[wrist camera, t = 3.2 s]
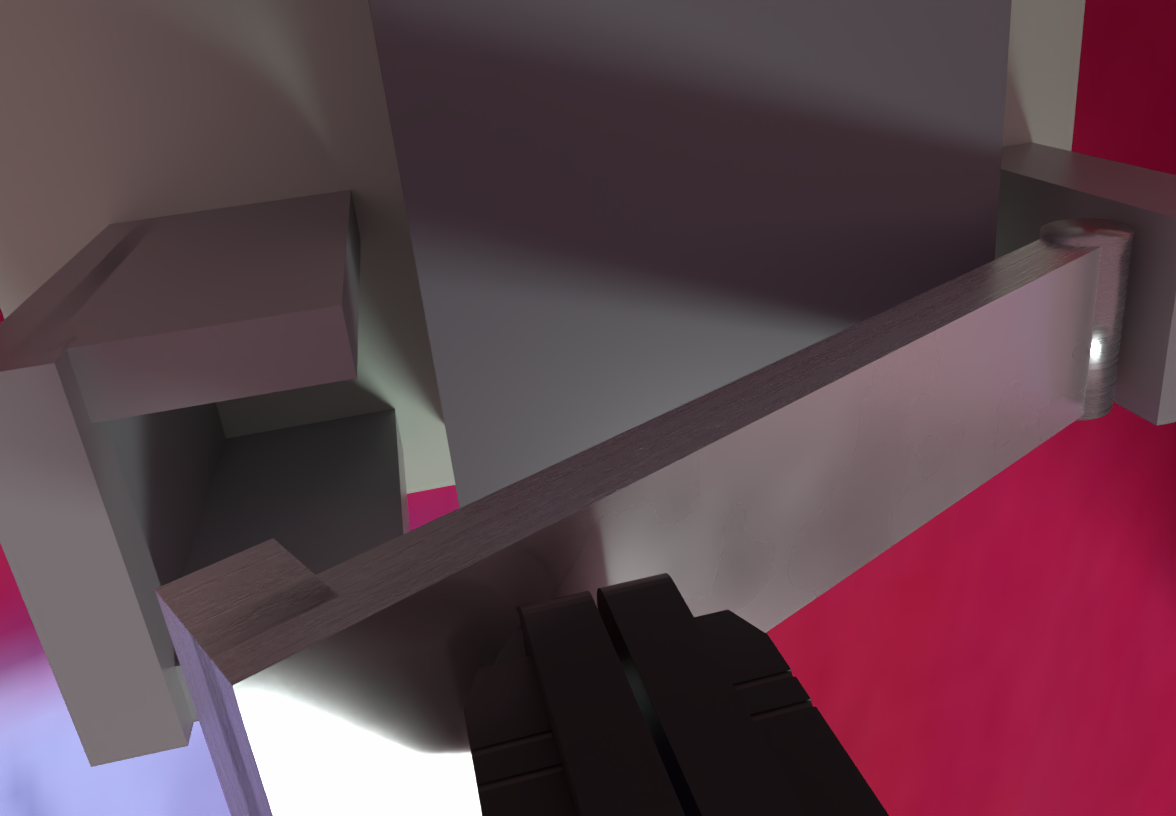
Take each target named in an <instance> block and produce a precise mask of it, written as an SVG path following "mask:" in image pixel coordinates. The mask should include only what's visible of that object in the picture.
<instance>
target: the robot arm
mask: <svg viewBox="0 0 1176 816" xmlns="http://www.w3.org/2000/svg"><path fill="white" fill-rule="evenodd" d="M519 615H520V621H521V627H522V633H523V639H524V645H525V651H526V657H525V658H521V659H517V660H512V661H508V662H504V663H500V664H495V665H491V666H487V667H483V668H478V671H477V673H476V676H475V678H474V681H473V684H472V686H471V689H470V692H469V694H468V697H467V700H466V702H465V705H464V708H463V710H464V716H465V722H466V727H467V733H468V739H469V744H470V750H471V755H472V761H473V767H474V772H475V778H476V784H477V789H478V795H479V801H480V806H481V812H482V816H889V815H888V814H887V812H886V811H885V809H884V808H883V806H882V805H881V803H880V802H879V800H878V799H877V797H876V796H875V794H874V793H873V791H872V790H871V788H870V787H869V785H868V784H867V782H866V781H865V779H864V778H863V776H862V775H861V773H860V772H859V770H858V769H857V767H856V766H855V764H854V763H853V761H852V760H851V758H850V757H849V755H848V754H847V752H846V751H845V749H844V748H843V746H842V745H841V743H840V742H839V740H838V739H837V737H836V736H835V734H834V733H833V731H832V730H831V728H830V727H829V725H828V724H827V723H826V721H825V720H824V718H823V717H822V715H821V714H820V712H819V711H818V709H817V708H816V707H813V706H812V703H811V699H810V697H809V696H808V694H807V693H806V691H805V690H804V688H803V687H802V685H801V684H800V682H799V681H798V679H797V678H796V677H793V676H792V673H791V669H790V667H789V666H788V664H787V663H786V661H785V660H784V658H783V657H782V655H781V654H780V652H779V651H778V649H777V648H776V646H775V645H774V643H773V642H772V640H771V639H770V637H769V636H768V634H766V633H764V632H763V631H761V630H760V629H758V628H757V627H755V626H753V625H752V624H750V623H749V622H747V621H746V620H744V619H743V618H741V617H739V616H738V615H736V614H735V613H733V612H732V611H730V610H729V609H727V610H723V611H719V612H715V613H710V614H706V615H702V616H698V617H694V616H693V614H692V613H691V611H690V609H689V607H688V606H687V604H686V602H685V600H684V599H683V597H682V595H681V593H680V592H679V590H678V588H677V586H676V585H675V583H674V581H673V580H672V578H671V576H670V575H669V574H667V573H663V574H659V575H654V576H650V577H645V578H641V579H637V580H632V581H628V582H623V583H619V584H614V585H610V586H606V587H601V588H598V589H597V606H596V604H595V601H594V599H593V597H592V595H591V593H590V592H589V591H585V592H580V593H576V594H572V595H567V596H563V597H558V598H554V599H549V600H545V601H541V602H536V603H532V604H527V605H523V606H519Z"/></svg>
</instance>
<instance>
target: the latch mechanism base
mask: <svg viewBox="0 0 1176 816" xmlns="http://www.w3.org/2000/svg"><path fill="white" fill-rule="evenodd" d="M1084 11H1085V0H0V308H1V311H2V314H3V317H4V320H3V321H2V322H1V323H0V543H1V546H2V548H3V550H4V553H5V555H6V558H7V560H8V563H9V565H10V568H11V570H12V573H13V575H14V578H15V580H16V583H17V585H18V587H19V590H20V592H21V595H22V597H23V600H24V602H25V605H26V607H27V610H28V612H29V615H30V617H31V620H32V622H33V625H34V627H35V629H36V632H37V634H38V637H39V639H40V642H41V644H42V647H43V649H44V652H45V654H46V657H47V659H48V662H49V664H50V667H51V669H52V671H53V674H54V676H55V679H56V681H57V684H58V686H59V689H60V691H61V694H62V696H63V699H64V701H65V704H66V706H67V709H68V711H69V713H70V716H71V718H72V721H73V723H74V726H75V728H76V731H77V733H78V736H79V738H80V741H81V743H82V746H83V748H84V751H85V753H86V755H87V758H88V760H89V763H90V765H91V767H92V766H97V765H102V764H106V763H111V762H115V761H120V760H125V759H129V758H134V757H138V756H143V755H148V754H152V753H157V752H161V751H166V750H171V749H175V748H180V747H184V746H188V743H189V739H190V735H191V731H192V727H193V722H196V721H199V719H198V716H197V713H196V711H195V708H194V705H193V702H192V699H191V696H190V693H189V690H188V687H187V684H186V681H185V678H184V675H183V672H182V669H181V666H180V663H179V660H178V657H177V654H176V651H175V648H174V645H173V643H172V640H171V637H170V634H169V631H168V628H167V625H166V622H165V619H164V616H163V613H162V610H161V607H160V604H159V601H158V598H157V595H156V592H155V589H156V588H158V587H161V586H163V585H165V584H168V583H170V582H172V581H175V580H177V579H179V578H182V577H184V576H186V575H189V574H191V573H193V572H195V571H198V570H200V569H202V568H205V567H207V566H209V565H212V564H214V563H216V562H219V561H221V560H223V559H226V558H228V557H230V556H233V555H235V554H237V553H240V552H242V551H244V550H247V549H249V548H251V547H254V546H256V545H258V544H261V543H263V542H265V541H267V540H270V539H272V538H274V539H275V540H276V541H277V542H278V543H279V544H280V545H282V546H283V547H284V548H285V549H286V550H287V551H288V552H290V553H291V554H292V555H293V556H294V557H295V558H296V559H298V560H299V561H300V562H301V563H302V564H303V565H304V566H306V567H307V568H308V569H309V570H310V571H311V572H312V573H314V574H315V575H317V574H319V573H321V572H323V571H326V570H328V569H330V568H332V567H334V566H336V565H339V564H341V563H343V562H345V561H347V560H349V559H351V558H354V557H356V556H358V555H360V554H362V553H364V552H367V551H369V550H371V549H373V548H375V547H377V546H379V545H382V544H384V543H386V542H388V541H390V540H392V539H395V538H397V537H399V536H401V535H403V534H405V533H407V532H410V529H409V516H408V503H407V493H413V492H418V491H423V490H429V489H434V488H439V487H445V486H450V485H455V484H456V490H457V496H458V501H459V507H460V508H461V507H464V506H466V505H468V504H470V503H472V502H474V501H476V500H479V499H481V498H483V497H485V496H487V495H489V494H492V493H494V492H496V491H498V490H500V489H502V488H504V487H507V486H509V485H511V484H513V483H515V482H517V481H520V480H522V479H524V478H526V477H528V476H530V475H532V474H535V473H537V472H539V471H541V470H543V469H545V468H548V467H550V466H552V465H554V464H556V463H558V462H560V461H563V460H565V459H567V458H569V457H571V456H573V455H576V454H578V453H580V452H582V451H584V450H586V449H588V448H591V447H593V446H595V445H597V444H599V443H601V442H604V441H606V440H608V439H610V438H612V437H614V436H616V435H619V434H621V433H623V432H625V431H627V430H629V429H632V428H634V427H636V426H638V425H640V424H642V423H644V422H647V421H649V420H651V419H653V418H655V417H657V416H660V415H662V414H664V413H666V412H668V411H670V410H673V409H675V408H677V407H679V406H681V405H683V404H685V403H688V402H690V401H692V400H694V399H696V398H698V397H701V396H703V395H705V394H707V393H709V392H711V391H713V390H716V389H718V388H720V387H722V386H724V385H726V384H729V383H731V382H733V381H735V380H737V379H739V378H741V377H744V376H746V375H748V374H750V373H752V372H754V371H757V370H759V369H761V368H763V367H765V366H767V365H769V364H772V363H774V362H776V361H778V360H780V359H782V358H785V357H787V356H789V355H791V354H793V353H795V352H797V351H800V350H802V349H804V348H806V347H808V346H810V345H813V344H815V343H817V342H819V341H821V340H823V339H825V338H828V337H830V336H832V335H834V334H836V333H838V332H841V331H843V330H845V329H847V328H849V327H851V326H853V325H856V324H858V323H860V322H862V321H864V320H866V319H869V318H871V317H873V316H875V315H877V314H879V313H882V312H884V311H886V310H888V309H890V308H892V307H894V306H897V305H899V304H901V303H903V302H905V301H907V300H910V299H912V298H914V297H916V296H918V295H920V294H922V293H925V292H927V291H929V290H931V289H933V288H935V287H938V286H940V285H942V284H944V283H946V282H948V281H950V280H953V279H955V278H957V277H959V276H961V275H963V274H966V273H968V272H970V271H972V270H974V269H976V268H978V267H981V266H983V265H985V264H987V263H989V262H991V261H994V260H996V259H998V258H1000V257H1002V256H1004V255H1006V254H1009V253H1011V252H1013V251H1015V250H1017V249H1019V248H1022V247H1024V246H1026V245H1028V244H1030V243H1032V242H1034V241H1037V240H1039V239H1040V229H1041V227H1042V226H1043V225H1045V224H1047V223H1050V222H1054V221H1059V220H1066V219H1081V218H1091V219H1106V220H1113V221H1119V222H1123V223H1126V224H1128V225H1130V226H1132V227H1133V228H1134V234H1133V242H1132V251H1131V259H1130V267H1129V275H1128V283H1127V291H1126V300H1125V308H1124V316H1123V324H1122V332H1121V341H1120V349H1119V357H1118V365H1117V373H1116V381H1115V390H1114V398H1113V402H1114V403H1116V404H1118V405H1120V406H1122V407H1124V408H1125V409H1127V410H1129V411H1131V412H1133V413H1134V414H1136V415H1138V416H1140V417H1142V418H1143V419H1145V420H1147V421H1149V422H1151V423H1153V424H1154V425H1156V426H1158V425H1163V424H1168V423H1173V422H1176V175H1173V174H1169V173H1164V172H1160V171H1156V170H1151V169H1147V168H1143V167H1138V166H1134V165H1129V164H1125V163H1121V162H1116V161H1112V160H1108V159H1103V158H1099V157H1094V156H1090V155H1086V154H1081V153H1077V152H1073V151H1072V140H1073V129H1074V118H1075V108H1076V97H1077V86H1078V76H1079V65H1080V54H1081V43H1082V33H1083V22H1084Z"/></svg>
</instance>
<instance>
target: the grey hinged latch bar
mask: <svg viewBox="0 0 1176 816" xmlns="http://www.w3.org/2000/svg"><path fill="white" fill-rule="evenodd" d="M1133 234H1134V228H1133V227H1132V226H1130V225H1128V224H1126V223H1123V222H1119V221H1113V220H1106V219H1091V218H1081V219H1066V220H1059V221H1054V222H1050V223H1047V224H1045V225H1043V226H1042V227H1041V229H1040V239H1039V240H1037V241H1034V242H1032V243H1030V244H1028V245H1026V246H1024V247H1022V248H1019V249H1017V250H1015V251H1013V252H1011V253H1009V254H1006V255H1004V256H1002V257H1000V258H998V259H996V260H994V261H991V262H989V263H987V264H985V265H983V266H981V267H978V268H976V269H974V270H972V271H970V272H968V273H966V274H963V275H961V276H959V277H957V278H955V279H953V280H950V281H948V282H946V283H944V284H942V285H940V286H938V287H935V288H933V289H931V290H929V291H927V292H925V293H922V294H920V295H918V296H916V297H914V298H912V299H910V300H907V301H905V302H903V303H901V304H899V305H897V306H894V307H892V308H890V309H888V310H886V311H884V312H882V313H879V314H877V315H875V316H873V317H871V318H869V319H866V320H864V321H862V322H860V323H858V324H856V325H853V326H851V327H849V328H847V329H845V330H843V331H841V332H838V333H836V334H834V335H832V336H830V337H828V338H825V339H823V340H821V341H819V342H817V343H815V344H813V345H810V346H808V347H806V348H804V349H802V350H800V351H797V352H795V353H793V354H791V355H789V356H787V357H785V358H782V359H780V360H778V361H776V362H774V363H772V364H769V365H767V366H765V367H763V368H761V369H759V370H757V371H754V372H752V373H750V374H748V375H746V376H744V377H741V378H739V379H737V380H735V381H733V382H731V383H729V384H726V385H724V386H722V387H720V388H718V389H716V390H713V391H711V392H709V393H707V394H705V395H703V396H701V397H698V398H696V399H694V400H692V401H690V402H688V403H685V404H683V405H681V406H679V407H677V408H675V409H673V410H670V411H668V412H666V413H664V414H662V415H660V416H657V417H655V418H653V419H651V420H649V421H647V422H644V423H642V424H640V425H638V426H636V427H634V428H632V429H629V430H627V431H625V432H623V433H621V434H619V435H616V436H614V437H612V438H610V439H608V440H606V441H604V442H601V443H599V444H597V445H595V446H593V447H591V448H588V449H586V450H584V451H582V452H580V453H578V454H576V455H573V456H571V457H569V458H567V459H565V460H563V461H560V462H558V463H556V464H554V465H552V466H550V467H548V468H545V469H543V470H541V471H539V472H537V473H535V474H532V475H530V476H528V477H526V478H524V479H522V480H520V481H517V482H515V483H513V484H511V485H509V486H507V487H504V488H502V489H500V490H498V491H496V492H494V493H492V494H489V495H487V496H485V497H483V498H481V499H479V500H476V501H474V502H472V503H470V504H468V505H466V506H464V507H461V508H459V509H457V510H455V511H453V512H451V513H448V514H446V515H444V516H442V517H440V518H438V519H435V520H433V521H431V522H429V523H427V524H425V525H423V526H420V527H418V528H416V529H414V530H412V531H410V532H407V533H405V534H403V535H401V536H399V537H397V538H395V539H392V540H390V541H388V542H386V543H384V544H382V545H379V546H377V547H375V548H373V549H371V550H369V551H367V552H364V553H362V554H360V555H358V556H356V557H354V558H351V559H349V560H347V561H345V562H343V563H341V564H339V565H336V566H334V567H332V568H330V569H328V570H326V571H323V572H321V573H319V574H317V575H315V574H314V573H312V572H311V571H310V570H309V569H308V568H307V567H306V566H304V565H303V564H302V563H301V562H300V561H299V560H298V559H296V558H295V557H294V556H293V555H292V554H291V553H290V552H288V551H287V550H286V549H285V548H284V547H283V546H282V545H280V544H279V543H278V542H277V541H276V540H275V539H274V538H272V539H270V540H267V541H265V542H263V543H261V544H258V545H256V546H254V547H251V548H249V549H247V550H244V551H242V552H240V553H237V554H235V555H233V556H230V557H228V558H226V559H223V560H221V561H219V562H216V563H214V564H212V565H209V566H207V567H205V568H202V569H200V570H198V571H195V572H193V573H191V574H189V575H186V576H184V577H182V578H179V579H177V580H175V581H172V582H170V583H168V584H165V585H163V586H161V587H158V588H156V589H155V592H156V595H157V598H158V601H159V604H160V607H161V610H162V613H163V616H164V619H165V622H166V625H167V628H168V631H169V634H170V637H171V640H172V643H173V645H174V648H175V651H176V654H177V657H178V660H179V663H180V666H181V669H182V672H183V675H184V678H185V681H186V684H187V687H188V690H189V693H190V696H191V699H192V702H193V705H194V708H195V711H196V713H197V716H198V719H199V722H200V725H201V728H202V731H203V734H204V737H205V740H206V743H207V746H208V749H209V752H210V755H211V758H212V761H213V764H214V767H215V770H216V773H217V776H218V779H219V781H220V784H221V787H222V790H223V793H224V796H225V799H226V802H227V805H228V808H229V811H230V814H231V816H482V812H481V806H480V801H479V795H478V789H477V784H476V778H475V772H474V767H473V761H472V755H471V750H470V744H469V739H468V733H467V727H466V722H465V716H464V710H463V708H464V705H465V702H466V700H467V697H468V694H469V692H470V689H471V686H472V684H473V681H474V678H475V676H476V673H477V671H478V668H483V667H487V666H491V665H495V664H500V663H504V662H508V661H512V660H517V659H521V658H525V657H526V651H525V645H524V639H523V633H522V627H521V621H520V615H519V606H523V605H527V604H532V603H536V602H541V601H545V600H549V599H554V598H558V597H563V596H567V595H572V594H576V593H580V592H585V591H589V592H590V593H591V595H592V597H593V599H594V601H595V604H596V606H597V589H598V588H601V587H606V586H610V585H614V584H619V583H623V582H628V581H632V580H637V579H641V578H645V577H650V576H654V575H659V574H663V573H667V574H669V575H670V576H671V578H672V580H673V581H674V583H675V585H676V586H677V588H678V590H679V592H680V593H681V595H682V597H683V599H684V600H685V602H686V604H687V606H688V607H689V609H690V611H691V613H692V614H693V616H694V617H698V616H702V615H706V614H710V613H715V612H719V611H723V610H727V609H729V610H730V611H732V612H733V613H735V614H736V615H738V616H739V617H741V618H743V619H744V620H746V621H747V622H749V623H750V624H752V625H753V626H755V627H757V628H758V629H760V630H761V631H763V632H764V633H766V632H767V631H769V630H770V629H772V628H773V627H775V626H776V625H777V624H779V623H780V622H782V621H783V620H785V619H786V618H788V617H789V616H791V615H792V614H794V613H795V612H796V611H798V610H799V609H801V608H802V607H804V606H805V605H807V604H808V603H810V602H811V601H813V600H814V599H815V598H817V597H818V596H820V595H821V594H823V593H824V592H826V591H827V590H829V589H830V588H832V587H833V586H834V585H836V584H837V583H839V582H840V581H842V580H843V579H845V578H846V577H848V576H849V575H850V574H852V573H853V572H855V571H856V570H858V569H859V568H861V567H862V566H864V565H865V564H867V563H868V562H869V561H871V560H872V559H874V558H875V557H877V556H878V555H880V554H881V553H883V552H884V551H886V550H887V549H888V548H890V547H891V546H893V545H894V544H896V543H897V542H899V541H900V540H902V539H903V538H905V537H906V536H907V535H909V534H910V533H912V532H913V531H915V530H916V529H918V528H919V527H921V526H922V525H923V524H925V523H926V522H928V521H929V520H931V519H932V518H934V517H935V516H937V515H938V514H940V513H941V512H942V511H944V510H945V509H947V508H948V507H950V506H951V505H953V504H954V503H956V502H957V501H959V500H960V499H961V498H963V497H964V496H966V495H967V494H969V493H970V492H972V491H973V490H975V489H976V488H978V487H979V486H980V485H982V484H983V483H985V482H986V481H988V480H989V479H991V478H992V477H994V476H995V475H996V474H998V473H999V472H1001V471H1002V470H1004V469H1005V468H1007V467H1008V466H1010V465H1011V464H1013V463H1014V462H1015V461H1017V460H1018V459H1020V458H1021V457H1023V456H1024V455H1026V454H1027V453H1029V452H1030V451H1032V450H1033V449H1034V448H1036V447H1037V446H1039V445H1040V444H1042V443H1043V442H1045V441H1046V440H1048V439H1049V438H1051V437H1052V436H1053V435H1055V434H1056V433H1058V432H1059V431H1061V430H1062V429H1064V428H1065V427H1067V426H1068V425H1069V424H1071V423H1072V422H1074V421H1075V420H1090V419H1095V418H1099V417H1102V416H1105V415H1107V414H1108V413H1109V412H1110V411H1111V410H1112V406H1113V398H1114V390H1115V381H1116V373H1117V365H1118V357H1119V349H1120V341H1121V332H1122V324H1123V316H1124V308H1125V300H1126V291H1127V283H1128V275H1129V267H1130V259H1131V251H1132V242H1133Z"/></svg>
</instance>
